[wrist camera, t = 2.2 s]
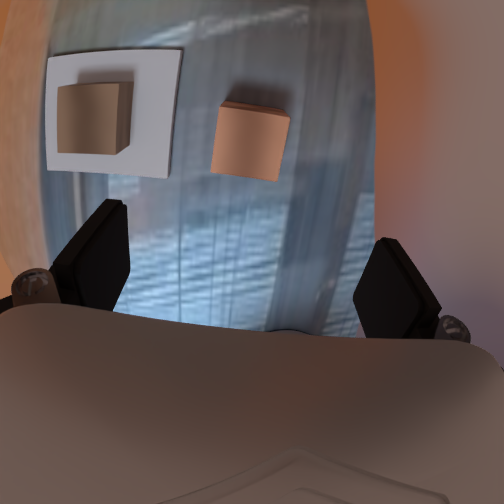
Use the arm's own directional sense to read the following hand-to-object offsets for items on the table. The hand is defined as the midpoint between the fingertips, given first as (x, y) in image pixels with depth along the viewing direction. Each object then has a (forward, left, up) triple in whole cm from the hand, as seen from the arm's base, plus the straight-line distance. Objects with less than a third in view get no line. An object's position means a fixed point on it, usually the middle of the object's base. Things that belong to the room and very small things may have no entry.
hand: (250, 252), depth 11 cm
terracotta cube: (0, 0, -23) cm, 23 cm away
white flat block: (+16, -1, -23) cm, 28 cm away
